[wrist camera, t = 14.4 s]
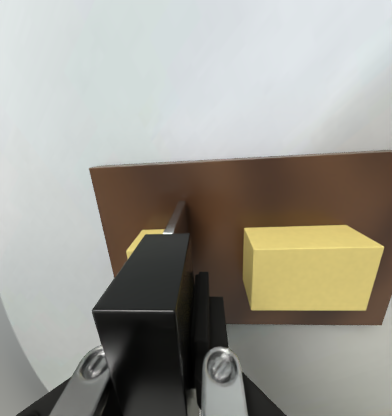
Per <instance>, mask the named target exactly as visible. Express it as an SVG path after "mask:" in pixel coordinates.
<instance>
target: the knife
mask: <svg viewBox="0 0 392 416" xmlns="http://www.w3.org/2000/svg"><path fill="white" fill-rule="evenodd" d="M194 293H195V288H194V274H193V260H192V245H191V234H190V233H188V220H187V207H186V201H179V202H178V204H177V206H176V208H175V210H174V212H173V214H172V216H171V218H170V220H169V222H168V224H167V226H166V228H165V230H164V231H163V234H146V235H144V237H143V238H142V240H141V241H140V242H139V244H138V245H137V247H136V248H135V250H134V251H133V252H132V254H131V255H130V257H129V258H128V260H127V261H126V262H125V264H124V265H123V267H122V268H121V270H120V271H119V272H118V274H117V275H116V277H115V278H114V279H113V281H112V282H111V284H110V285H109V287H108V288H107V289H106V291H105V292H104V294H103V295H102V297H101V298H100V299H99V301H98V302H97V304H96V305H95V307H94V308H93V310H92V314H93V317H94V321H95V324H96V328H97V331H98V334H99V338H100V341H101V344H102V348H103V351H104V355H105V358H106V361H107V365H108V368H109V371H110V375H111V378H112V382H113V385H114V388H115V392H116V395H117V398H118V402H119V405H120V409H121V412H122V415H123V416H199V411H200V408H199V406H198V405H197V398H196V389H195V387H194V375H193V364H192V353H191V327H192V316H193V305H194Z"/></svg>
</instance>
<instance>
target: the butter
mask: <svg viewBox="0 0 392 416" xmlns="http://www.w3.org/2000/svg"><path fill="white" fill-rule="evenodd" d="M383 250H384V246H382V245H380V244H379V243H377V242H375V241H373V240H372V239H370V238H368V237H366V236H365V235H363V234H361V233H359V232H358V231H356V230H354V229H352V228H351V227H349V226H347V225H326V226H291V227H256V228H244V247H243V282H244V286H245V290H246V294H247V297H248V301H249V305H250V309H251V310H298V311H365V310H366V308H367V305H368V302H369V298H370V295H371V291H372V288H373V284H374V281H375V278H376V274H377V271H378V267H379V264H380V260H381V257H382V254H383Z"/></svg>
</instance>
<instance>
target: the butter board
mask: <svg viewBox="0 0 392 416" xmlns="http://www.w3.org/2000/svg"><path fill="white" fill-rule="evenodd" d="M89 170H90V175H91V179H92V183H93V187H94V192H95V196H96V200H97V205H98V209H99V213H100V218H101V222H102V226H103V231H104V235H105V239H106V244H107V248H108V252H109V256H110V261H111V265H112V269H113V274H114V278H115V277H116V275H117V274H118V272H119V271H120V270H121V268H122V267H123V265H124V264H125V262H126V261H127V260H128V258H127V253H126V251H127V249H128V248H129V247H130V245H131V244H132V243H133V241H134V240H135V239H136V237H137V236H138V235H139V234H140V232H141V231H142V230H156V229H165V228H166V226H167V224H168V222H169V220H170V218H171V216H172V214H173V212H174V210H175V208H176V206H177V204H178V202H179V201H186V207H187V220H188V233H190V234H191V245H192V260H193V274H194V283H195V274H199V272H209V296H210V297H223V301H224V310H225V320H226V324H291V325H382V322H383V319H384V316H385V313H386V310H387V307H388V304H389V301H390V298H391V295H392V150H380V151H362V152H344V153H325V154H307V155H289V156H270V157H252V158H234V159H215V160H197V161H179V162H160V163H142V164H123V165H105V166H97V167H92V168H89ZM326 225H347V226H349V227H351V228H352V229H354V230H356V231H358V232H359V233H361V234H363V235H365V236H366V237H368V238H370V239H372V240H373V241H375V242H377V243H379V244H380V245H382V246H384V250H383V254H382V257H381V260H380V264H379V267H378V271H377V274H376V278H375V281H374V284H373V288H372V291H371V295H370V298H369V302H368V305H367V308H366V310H365V311H298V310H251V309H250V305H249V301H248V297H247V294H246V290H245V286H244V282H243V247H244V228H256V227H291V226H326Z"/></svg>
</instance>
